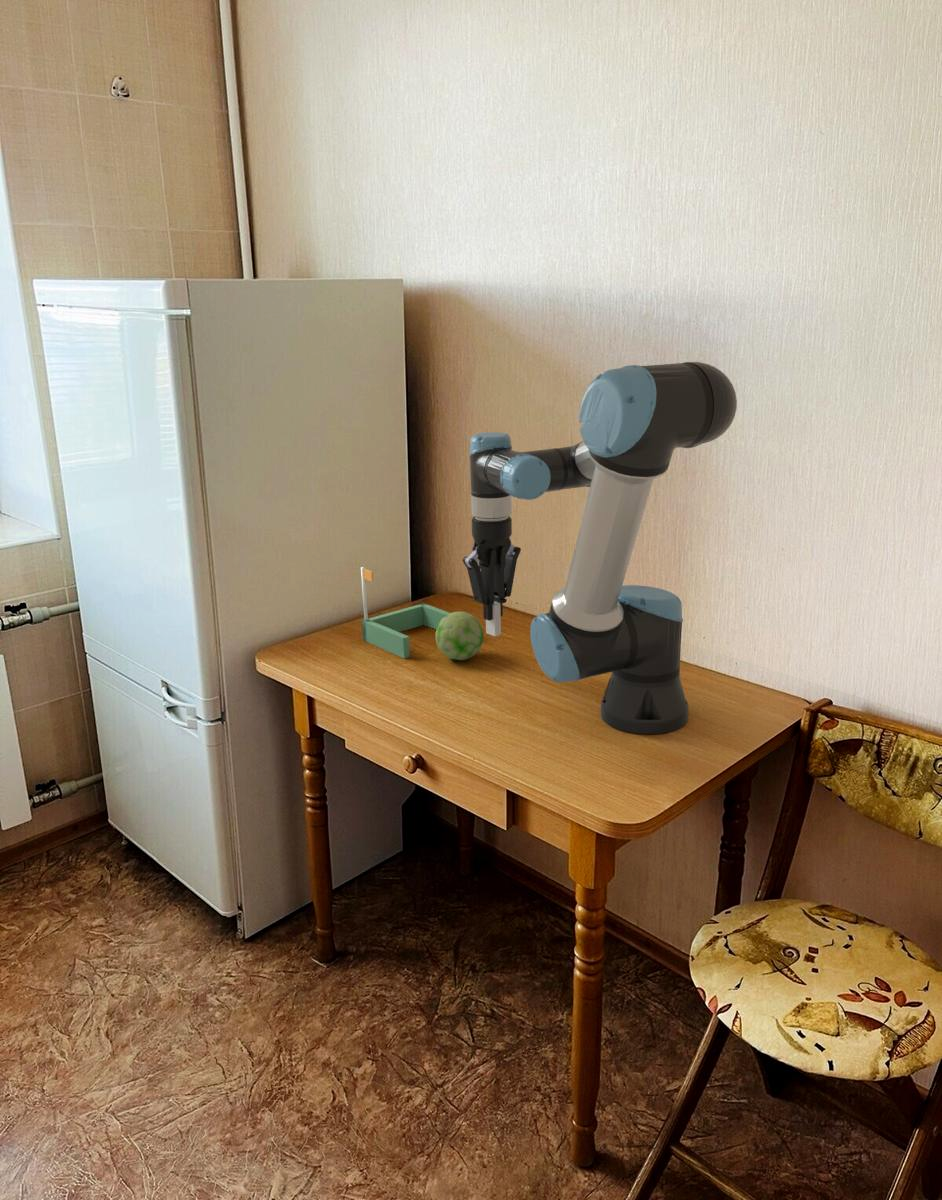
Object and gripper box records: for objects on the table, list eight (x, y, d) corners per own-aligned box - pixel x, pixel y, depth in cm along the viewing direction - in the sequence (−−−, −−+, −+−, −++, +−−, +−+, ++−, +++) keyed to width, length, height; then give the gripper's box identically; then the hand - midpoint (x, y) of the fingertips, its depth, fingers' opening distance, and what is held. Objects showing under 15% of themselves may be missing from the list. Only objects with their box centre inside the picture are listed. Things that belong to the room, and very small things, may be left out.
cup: (467, 638, 208) (465, 565, 202) (404, 658, 197) (400, 582, 192) (424, 621, 219) (421, 552, 214) (362, 639, 209) (357, 567, 204)
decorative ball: (488, 664, 193) (487, 618, 190) (440, 669, 191) (438, 622, 188) (479, 648, 202) (478, 603, 199) (432, 652, 200) (430, 607, 197)
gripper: (504, 507, 185) (505, 621, 193) (451, 518, 178) (455, 637, 185) (530, 513, 180) (530, 630, 187) (477, 526, 172) (480, 647, 180)
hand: (493, 633), depth 186 cm, fingers closed
